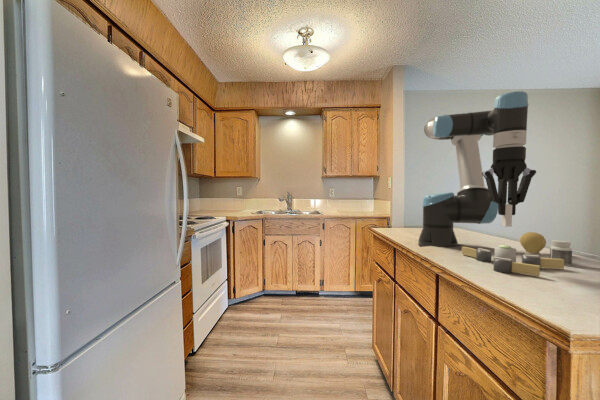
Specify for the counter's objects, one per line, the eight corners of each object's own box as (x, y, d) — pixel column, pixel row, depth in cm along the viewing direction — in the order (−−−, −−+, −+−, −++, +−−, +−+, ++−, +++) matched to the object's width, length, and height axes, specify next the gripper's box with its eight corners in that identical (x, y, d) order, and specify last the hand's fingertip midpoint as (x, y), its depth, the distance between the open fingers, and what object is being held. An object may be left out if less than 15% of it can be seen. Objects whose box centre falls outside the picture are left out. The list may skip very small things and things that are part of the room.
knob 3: (527, 268, 71) (527, 256, 71) (518, 265, 75) (518, 253, 75) (567, 271, 69) (568, 258, 69) (557, 267, 73) (557, 255, 72)
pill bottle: (576, 270, 74) (577, 242, 73) (557, 269, 75) (558, 242, 74) (563, 266, 78) (563, 239, 78) (545, 265, 79) (546, 239, 79)
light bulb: (518, 258, 88) (518, 230, 87) (543, 261, 84) (543, 231, 84) (520, 262, 83) (521, 232, 82) (547, 265, 79) (548, 234, 79)
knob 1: (494, 261, 79) (494, 250, 79) (485, 262, 78) (485, 251, 78) (467, 254, 88) (467, 244, 88) (458, 255, 87) (458, 245, 87)
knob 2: (492, 271, 70) (492, 258, 69) (494, 267, 72) (494, 255, 72) (539, 279, 63) (539, 265, 63) (539, 275, 66) (539, 261, 66)
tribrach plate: (459, 260, 85) (460, 239, 85) (521, 264, 81) (522, 241, 80) (484, 278, 68) (484, 251, 68) (565, 283, 63) (566, 255, 63)
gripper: (489, 146, 71) (486, 227, 73) (544, 144, 68) (540, 228, 69) (478, 150, 79) (476, 223, 80) (527, 147, 75) (524, 224, 77)
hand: (506, 225), depth 75 cm, fingers closed
